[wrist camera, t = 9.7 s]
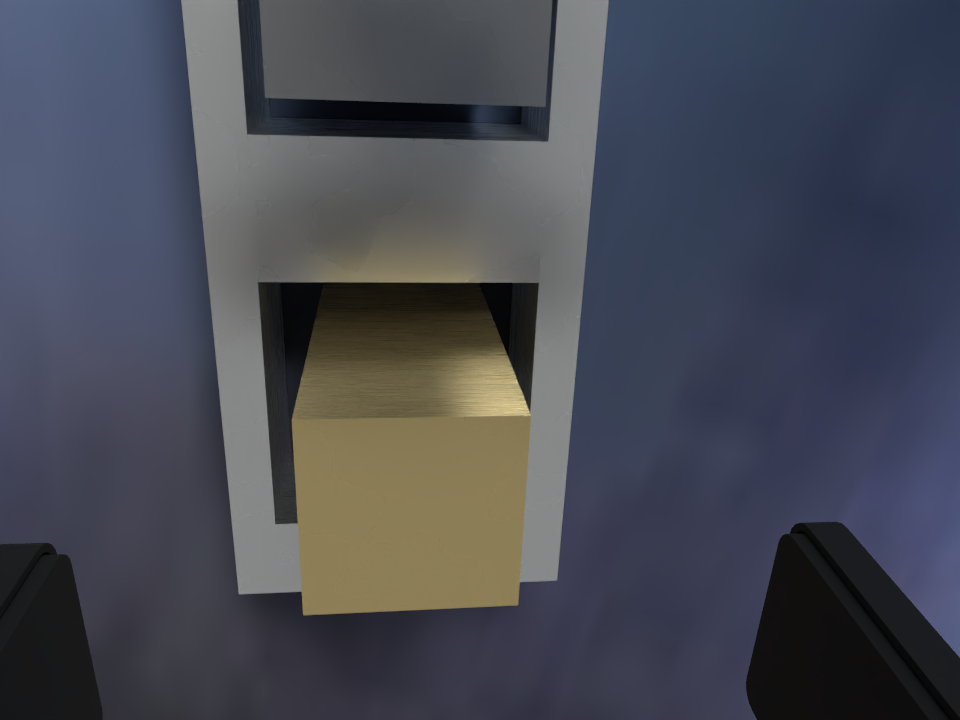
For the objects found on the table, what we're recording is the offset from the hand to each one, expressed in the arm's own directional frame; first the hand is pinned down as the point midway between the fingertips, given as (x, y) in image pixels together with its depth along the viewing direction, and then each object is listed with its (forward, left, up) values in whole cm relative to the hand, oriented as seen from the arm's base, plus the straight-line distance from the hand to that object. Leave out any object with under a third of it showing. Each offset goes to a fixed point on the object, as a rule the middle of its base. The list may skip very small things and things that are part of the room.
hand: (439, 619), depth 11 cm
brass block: (0, +1, -12) cm, 12 cm away
